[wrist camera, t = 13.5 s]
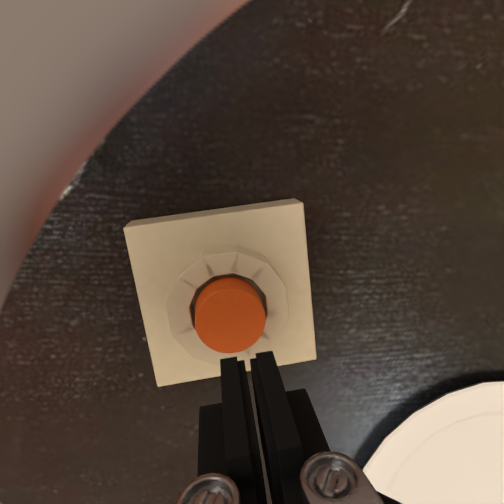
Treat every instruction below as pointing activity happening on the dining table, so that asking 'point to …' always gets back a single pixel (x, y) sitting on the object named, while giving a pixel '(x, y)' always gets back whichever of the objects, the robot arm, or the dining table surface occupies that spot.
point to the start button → (229, 315)
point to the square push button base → (217, 267)
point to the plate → (445, 450)
